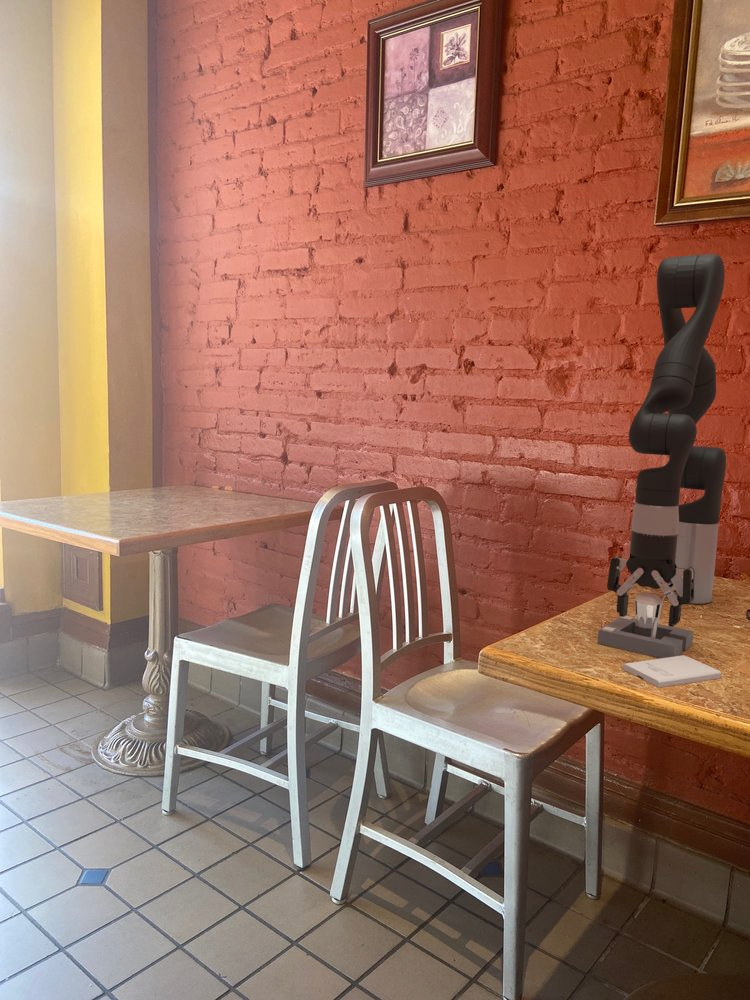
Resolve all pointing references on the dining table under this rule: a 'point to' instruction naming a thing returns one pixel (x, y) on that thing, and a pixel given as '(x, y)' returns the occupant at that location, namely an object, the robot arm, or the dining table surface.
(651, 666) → the external hard drive
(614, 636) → the frame
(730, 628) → the dining table surface
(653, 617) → the milkshake
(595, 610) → the dining table surface
